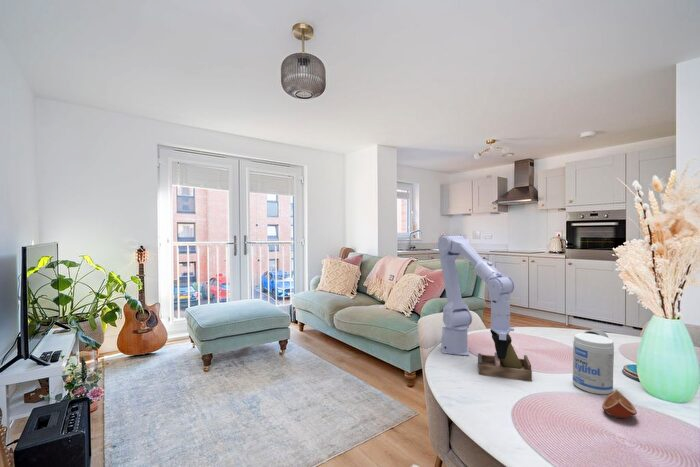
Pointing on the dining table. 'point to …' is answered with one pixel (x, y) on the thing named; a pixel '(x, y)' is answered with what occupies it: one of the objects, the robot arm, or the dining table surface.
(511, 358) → the olive bulbous piece
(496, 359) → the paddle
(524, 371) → the open box
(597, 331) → the ceramic mug
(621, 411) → the brown wedge piece
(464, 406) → the dining table surface
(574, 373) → the supplement tub
